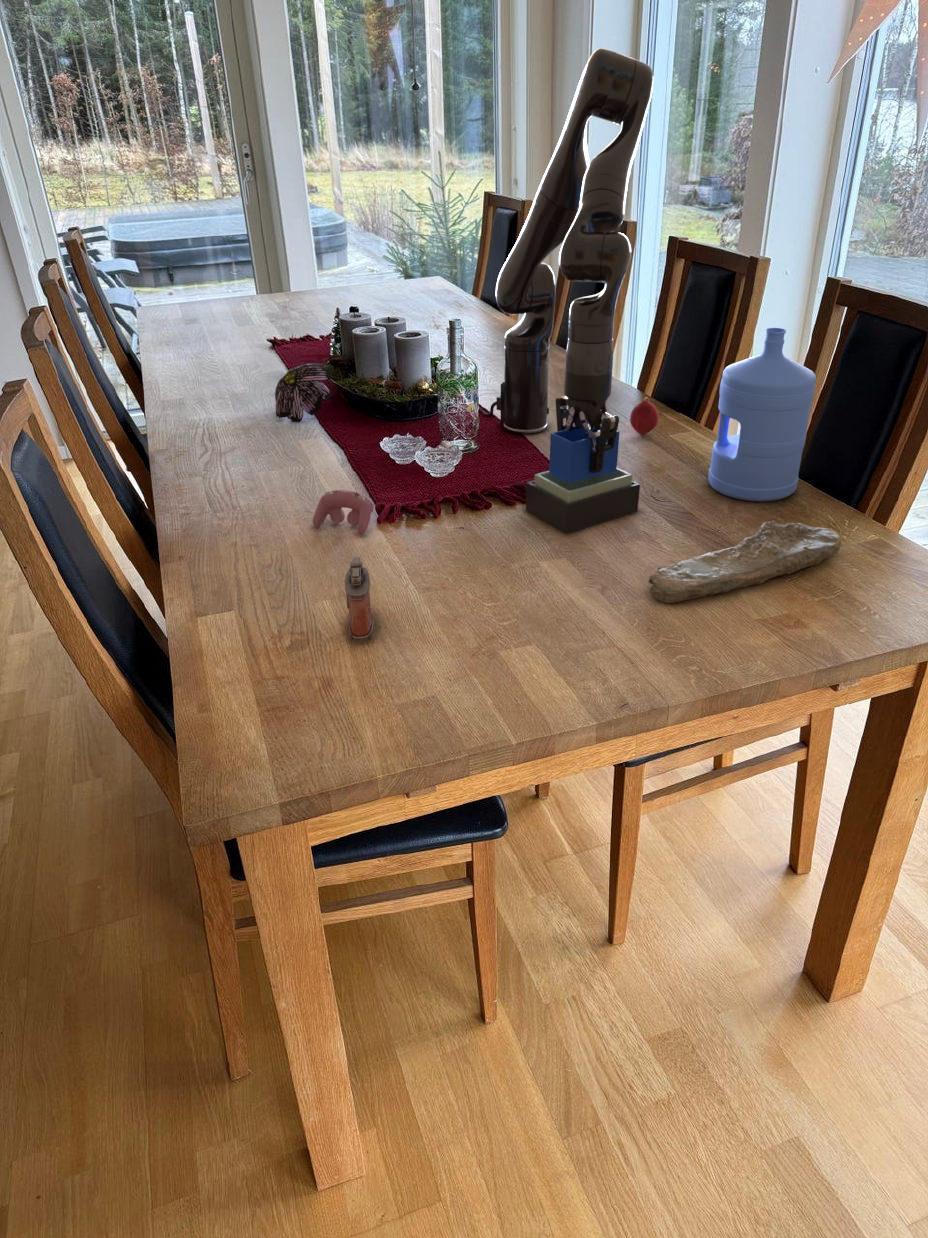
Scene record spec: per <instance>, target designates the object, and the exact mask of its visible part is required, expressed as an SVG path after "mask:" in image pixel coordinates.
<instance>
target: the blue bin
mask: <svg viewBox="0 0 928 1238" xmlns="http://www.w3.org/2000/svg"><path fill="white" fill-rule="evenodd" d="M591 431H592V432H593V433H595V432H597V431H598V428H597V429H595V430H591ZM620 432H621V431H619V429H617V434H616V439H615V444H614V448H613V449H611V450H608V451H604V459H603V468H602V470H601V471H600V472H597V473H591V472H590V471H589V465H590V452H591V449H590V439H588V438H587V439H586V437H585V433H584V430H583V429H582V428H581V429H575V430H572V431H569V430H568V429H566V430H562V431H554V432H551V433H550V437H549V439H550V440H549V465H548V466H549V467H548V468H549V469H548V471H549V473H551V474H553V475H555V476H557V477H558V478H560V479H562V480H564V481H566V482H568V483H570V484H571V483H574V482H578V481H581V480H585V479H589V478H592V477H596V476H599V475H603V474H606V473H610V472H614V471H617V468H618V460H619V459H618V457H619V445H620ZM599 438H600V437H599V436H598V437H596V438H595V440H596V444H598V443H599ZM606 443H608V439H607V440H606Z"/></svg>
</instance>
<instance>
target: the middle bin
mask: <svg viewBox="0 0 928 1238" xmlns="http://www.w3.org/2000/svg"><path fill="white" fill-rule="evenodd" d="M533 481H534V485H536V486H537V487H539V488H541V489H543V490H545V491H546V492H548V493H550V494H552V495H554V496H555V497H557V498H559V499H561V500H563V501H564V502H566V503H572V502H575V501H578V500H582V499H585V498H589V497H592V496H596V495H599V494H602V493H606V492H609V491H613V490H616V489H620V488H623V487H626V486H630V485H632V481H633V474H632V473H629V472H628V471H625V470H623V469H621V468H619V467H617V471H614V472H610V473H606V474H603V475H599V476H596V477H592V478H589V479H585V480H581V481H578V482H574V483H571V484H570V483H568V482H566V481H564V480H562V479H560V478H558V477H557V476H555V475H553V474H551V473H549V470H546V471H542V472H538V473H535V474H534V480H533Z"/></svg>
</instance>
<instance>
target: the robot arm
mask: <svg viewBox="0 0 928 1238" xmlns="http://www.w3.org/2000/svg"><path fill="white" fill-rule="evenodd" d="M653 87H654V72H653V69H652V67H651V66H650V65H649V64H647V63H645V62H643V61H641V60H638V59H636V58H634V57H630V56H627V55H625V54H623V53H620V52H616V51H614V50H612V49H607V48H602V47H599V48H597V49H596V50H594V51H593V52H592V54H591V55H590V57H589V58H588V59H587V63H586V64H585V67H584V69H583V71H582V74H581V77H580V80H579V82H578V85H577V87H576V91H575V93H574V97H573V100H572V103H571V106H570V108H569V112H568V115H567V118H566V121H565V123H564V126H563V129H562V131H561V135H560V137H559V140H558V142H557V145H556V147H555V149H554V152H553V154H552V157H551V159H550V161H549V163H548V166H547V168H546V170H545V171H544V172H545V173H544V174H543V176H542V179H541V182H540V184H539V185H538V189H537V191H536V193H535V197H534V199H533V201H532V205H531V207H530V210H529V213H528V215H527V218H526V220H525V223H524V225H523V226H522V229H521V231H520V233H519V236H518V238H517V240H516V242H515V244H514V246H513V247H512V249H511V251H510V253H509V254H508V257H507V258H506V261H505V262H504V264H503V266H502V267H501V269H500V271H499V274H498V276H497V280H496V285H495V301H496V304H497V307H498V308H499V310H500V311H502V312H503V313H504V314H507V315H512V316H513V315H514V316H515V315H523V316H522V318H521V319H520V320H519V322H517V323H516V324H515V325H514V326H512V327H511V328H510V329H508V330H507V331H506V332H505V333H504V334H505V335H504V357H503V359H504V366H503V367H504V368H503V369H504V374H503V375H504V376H503V377H504V380H503V381H501V382H500V395H499V396H496V401H494V402H492V404H491V405H490V409H489V412H486V411H484V410H483V409H482V408H481V407H480V406H479V411H478V412H479V413H481V414H483V415H485V416H487V417H491V416H493V414H494V410H495V407H496V410H497V411H500V426H501V427H503V428H504V430H506V431H508V432H510V433H515V434H520V435H521V434H523V435H524V434H525V435H527V434H536V433H540V432H543V431H545V430H546V429H547V428H548V415H550V408H549V407H548V400H549V373H550V372H549V371H550V369H549V367H550V366H549V365H550V340H551V338H552V335H553V331H554V322H555V321H554V319H555V308H556V297H557V296H556V295H557V286H556V278H555V274H554V271H553V270H552V268H551V266H550V265H548V264H547V263H545V262H544V261H545V259H546V258H548V257H549V255H551V254H552V253H553V252H554V251H556V250H557V248H558V247H560V246H561V247H560V251H559V255H558V266H559V270H560V272H561V274H562V276H564V278H565V279H566V280H568V281H570V282H573V283H574V282H575V283H604V287H603V289H601V291H600V292H598V293H596V294H592V295H588V296H587V295H586V296H582V297H578V298H575V299H574V300H573V301H571V303H570V307H569V312H568V333H567V334H568V335H567V344H566V350H565V363H564V364H565V367H564V386H563V387H564V388H563V393H564V396H560V397H557V398H555V412H556V413H555V414H556V415H555V416H556V430H557V431H556V432H558V431H562V430H566V429H568V430H569V431H572V430H575V429H581V428H582V429H583V430H584V433H585V437H586V439H587V438H588V439H590V449H591V452H590V465H589V471H590V472H591V473H597V472H600V471H601V470H602V468H603V459H604V451H608V450H611V449H613V448H614V444H615V439H616V434H617V430H619V429H618V428H619V423H620V417H619V416H618V415H617V414H616V415H611V414H610V413H608V409H607V405H606V402H607V400H608V399H609V397H610V396H611V394H612V384H613V383H612V380H613V367H614V353H615V352H614V329H615V316H616V309H617V303H618V300H619V295H620V292H621V289H622V287H623V283H624V281H625V278H626V275H627V272H628V269H629V266H630V264H631V260H632V246H631V243H630V240H629V238H628V237H627V236H626V235H625V234H624V233H621V232H615V231H616V230H618V229H619V228H620V226H621V225H622V223H623V221H624V218H625V212H626V211H625V210H626V203H627V196H628V190H629V189H628V188H629V181H630V176H631V171H632V167H633V163H634V160H635V156H636V153H637V150H638V147H639V142H640V139H641V136H642V133H643V128H644V125H645V121H646V117H647V114H648V110H649V106H650V102H651V99H652V93H653ZM591 117H595V118H597V119H600V120H603V121H605V122H608V123H611V124H614V125H618V126H621V128H620V131H619V133H618V134H617V135H616V137H614V139H613V140H612V141H611V142H609V144H607V145H606V146H605V147H604V148H603V149H602V150H601V151H600V152H598V153H597V155H596V156H594V157H593V159H592V160H591V161H590V157H589V153H588V143H587V125H588V121H589V120H590V118H591ZM564 420H565V424H564ZM597 428H598V431H597V432H595V433H593V432H592V431H591V430H595V429H597ZM598 436H599V437H600V438H599V443H598V444H596V440H595V438H596V437H598ZM607 439H608V443H606V440H607Z"/></svg>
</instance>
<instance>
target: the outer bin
mask: <svg viewBox="0 0 928 1238" xmlns="http://www.w3.org/2000/svg"><path fill="white" fill-rule="evenodd" d="M640 489H641V483H638V482H637V481H634V480H632V485H630V486H626V487H623V488H620V489H616V490H613V491H609V492H606V493H602V494H599V495H596V496H592V497H589V498H585V499H582V500H578V501H575V502H572V503H566V502H564V501H563V500H561V499H559V498H557V497H555V496H554V495H552V494H550V493H548V492H546V491H545V490H543V489H541V488H539V487H537V486H536V485H534V480H530V481H527V482H526V483H525V511H526V512H528V513H530V514H532V515H533V516H535V517H537V518H538V519H540V520H541V521H543V522H545V523H547V524H549V525H550V526H552V527H553V528H555V529H557V530H558V531H561V532H562V533H564V534H566V535H567V534H570V533H574V532H578V531H580V530H585V529H588V528H590V527H593V526H596V525H601V524H603V523H606V522H610V521H613V520H616V519H619V518H623V517H626V516H629V515H633V514H636V513H638V512H639V501H640V491H641V490H640Z"/></svg>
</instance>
